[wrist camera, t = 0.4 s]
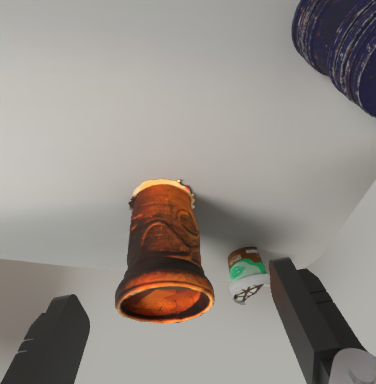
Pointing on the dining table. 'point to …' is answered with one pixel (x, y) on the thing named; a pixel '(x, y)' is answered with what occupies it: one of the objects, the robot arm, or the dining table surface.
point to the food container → (246, 273)
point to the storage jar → (340, 45)
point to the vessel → (163, 257)
